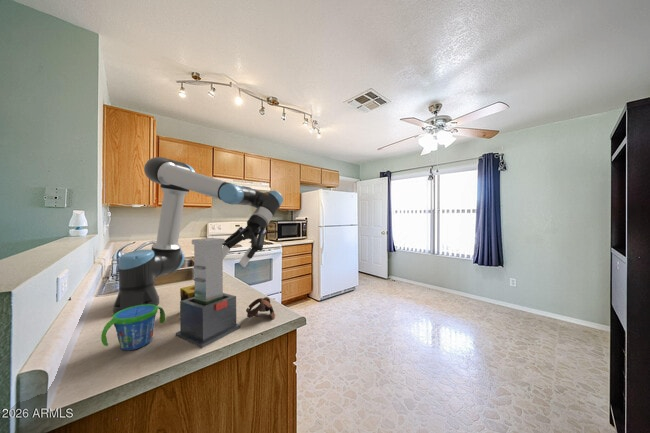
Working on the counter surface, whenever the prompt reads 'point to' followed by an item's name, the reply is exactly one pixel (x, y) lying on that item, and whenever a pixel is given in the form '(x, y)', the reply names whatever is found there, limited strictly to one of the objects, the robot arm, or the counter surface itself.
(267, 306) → the brown curved open arch
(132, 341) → the snack cup
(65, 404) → the counter surface
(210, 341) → the sleeve
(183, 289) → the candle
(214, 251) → the column
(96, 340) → the counter surface
